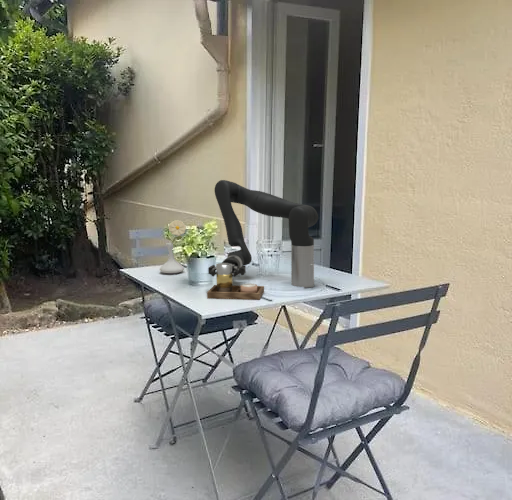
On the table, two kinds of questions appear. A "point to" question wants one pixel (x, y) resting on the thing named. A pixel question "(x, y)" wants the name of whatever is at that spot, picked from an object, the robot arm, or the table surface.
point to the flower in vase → (172, 264)
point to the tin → (224, 277)
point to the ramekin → (249, 288)
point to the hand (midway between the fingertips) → (223, 273)
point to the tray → (235, 293)
